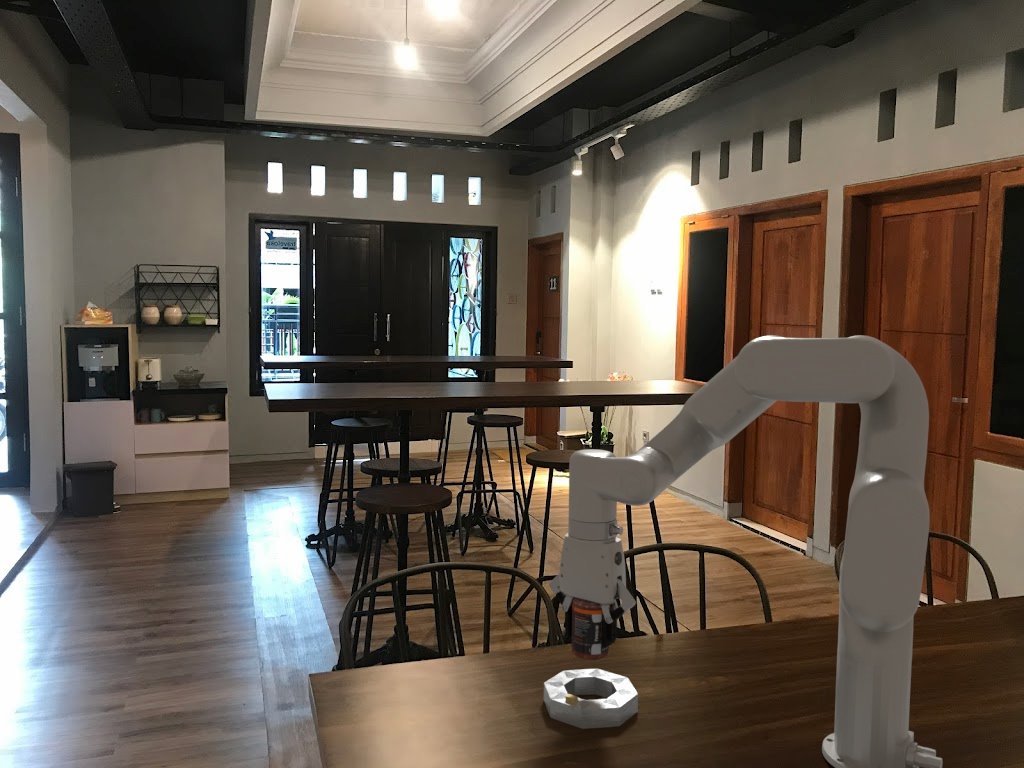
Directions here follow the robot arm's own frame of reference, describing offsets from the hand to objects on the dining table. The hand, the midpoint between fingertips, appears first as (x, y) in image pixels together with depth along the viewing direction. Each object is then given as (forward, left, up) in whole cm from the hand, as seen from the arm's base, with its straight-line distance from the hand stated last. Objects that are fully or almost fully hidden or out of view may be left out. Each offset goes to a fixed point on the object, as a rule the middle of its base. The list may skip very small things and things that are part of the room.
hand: (590, 638), depth 133 cm
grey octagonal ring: (0, 0, -11) cm, 11 cm away
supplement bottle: (0, 0, -3) cm, 3 cm away
